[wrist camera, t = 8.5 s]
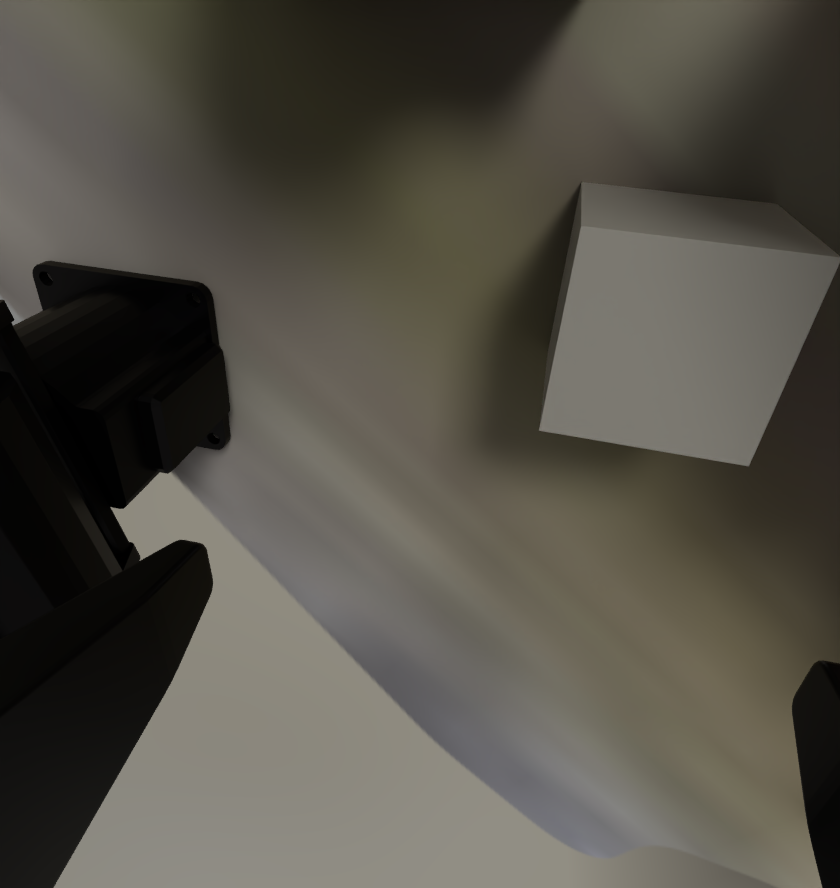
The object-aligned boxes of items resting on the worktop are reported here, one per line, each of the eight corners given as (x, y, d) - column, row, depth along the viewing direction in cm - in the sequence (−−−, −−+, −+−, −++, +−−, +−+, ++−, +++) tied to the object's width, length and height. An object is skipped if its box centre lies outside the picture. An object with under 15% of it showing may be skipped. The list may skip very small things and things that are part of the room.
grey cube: (548, 349, 20) (539, 430, 15) (581, 181, 17) (581, 225, 13) (712, 374, 19) (748, 466, 15) (776, 203, 16) (842, 257, 12)
